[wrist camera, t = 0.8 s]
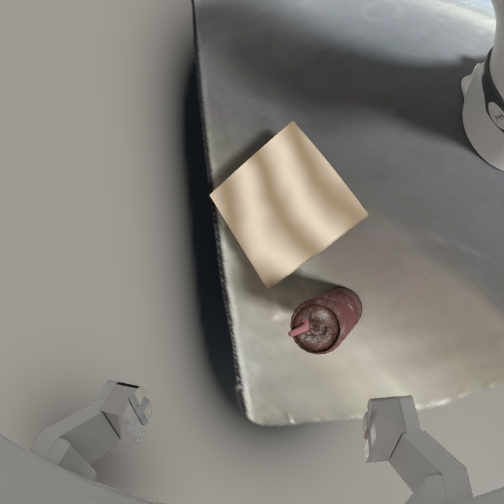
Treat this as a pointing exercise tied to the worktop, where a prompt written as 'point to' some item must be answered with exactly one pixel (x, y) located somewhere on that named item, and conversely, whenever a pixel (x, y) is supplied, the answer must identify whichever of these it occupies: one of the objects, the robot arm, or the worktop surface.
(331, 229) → the small table
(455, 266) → the worktop surface
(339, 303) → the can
